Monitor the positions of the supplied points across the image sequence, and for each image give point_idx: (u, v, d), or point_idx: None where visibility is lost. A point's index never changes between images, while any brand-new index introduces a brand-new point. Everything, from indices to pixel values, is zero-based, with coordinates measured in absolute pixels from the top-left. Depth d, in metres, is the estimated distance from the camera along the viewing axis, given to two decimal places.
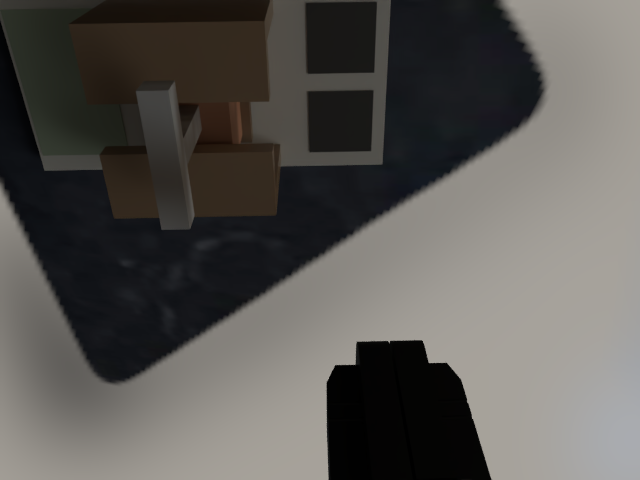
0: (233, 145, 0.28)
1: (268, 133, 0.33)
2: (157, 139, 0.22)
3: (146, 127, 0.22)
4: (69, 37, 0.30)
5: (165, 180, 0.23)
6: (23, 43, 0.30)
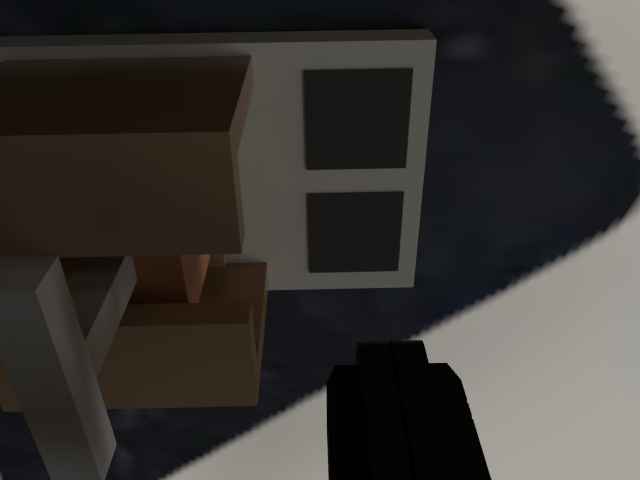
0: (187, 306, 0.17)
1: (249, 248, 0.23)
2: (25, 365, 0.12)
3: (2, 347, 0.12)
4: None
5: (50, 421, 0.13)
6: None
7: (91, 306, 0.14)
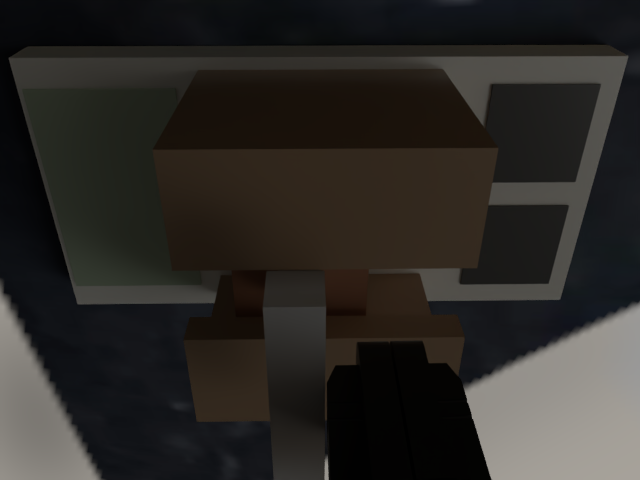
0: (394, 318, 0.17)
1: None
2: (290, 379, 0.12)
3: (273, 362, 0.12)
4: (126, 129, 0.20)
5: (294, 435, 0.13)
6: (55, 137, 0.20)
7: None
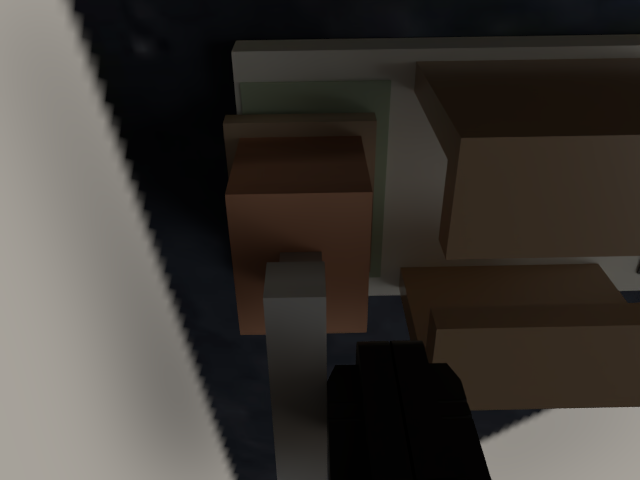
0: (635, 306, 0.17)
1: None
2: (291, 370, 0.12)
3: (274, 353, 0.12)
4: None
5: (296, 427, 0.13)
6: None
7: None
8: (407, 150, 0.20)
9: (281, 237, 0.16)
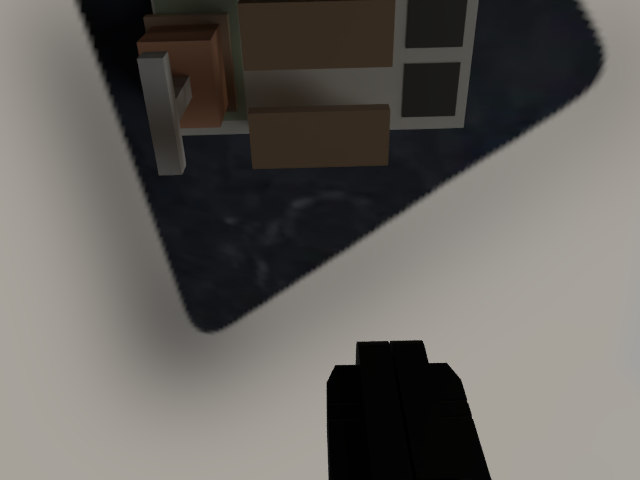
0: (355, 105, 0.33)
1: (367, 101, 0.39)
2: (154, 98, 0.28)
3: (145, 88, 0.28)
4: None
5: (161, 133, 0.29)
6: None
7: (175, 91, 0.30)
8: None
9: None
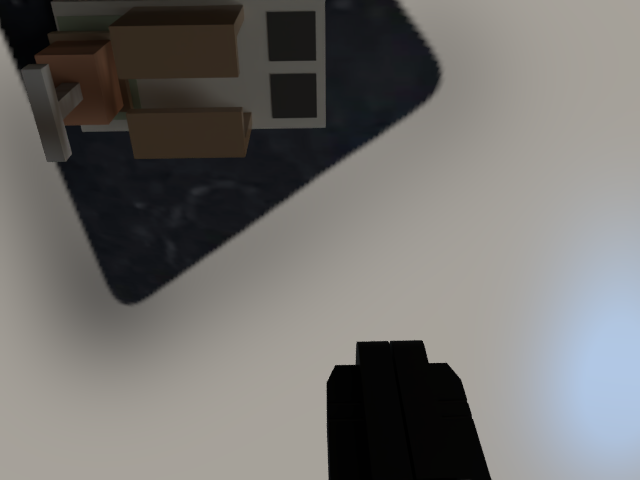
0: (215, 108, 0.41)
1: (242, 104, 0.46)
2: (37, 100, 0.36)
3: (29, 93, 0.35)
4: None
5: (45, 128, 0.36)
6: None
7: (61, 95, 0.38)
8: None
9: (61, 75, 0.40)
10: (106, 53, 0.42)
